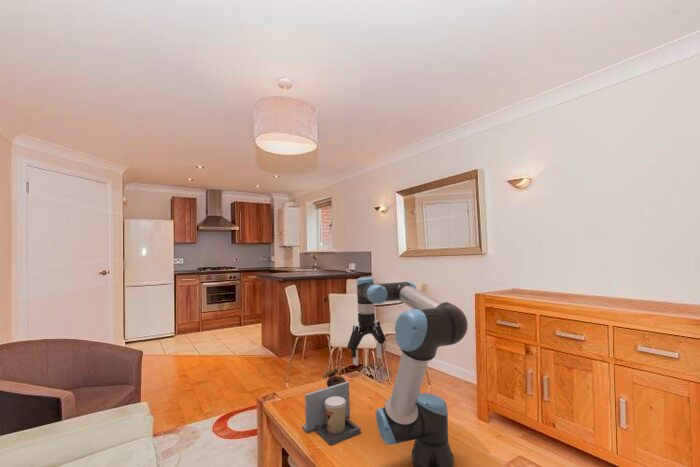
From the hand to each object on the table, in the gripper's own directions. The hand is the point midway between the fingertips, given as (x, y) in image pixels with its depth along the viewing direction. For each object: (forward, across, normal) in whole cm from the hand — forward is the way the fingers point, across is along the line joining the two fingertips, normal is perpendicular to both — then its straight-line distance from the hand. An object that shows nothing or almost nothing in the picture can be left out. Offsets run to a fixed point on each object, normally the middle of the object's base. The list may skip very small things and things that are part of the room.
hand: (367, 361), depth 148 cm
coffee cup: (+28, +12, -9) cm, 32 cm away
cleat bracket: (+29, +12, -8) cm, 32 cm away
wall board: (+28, +12, -16) cm, 35 cm away
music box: (+28, +1, -24) cm, 37 cm away
